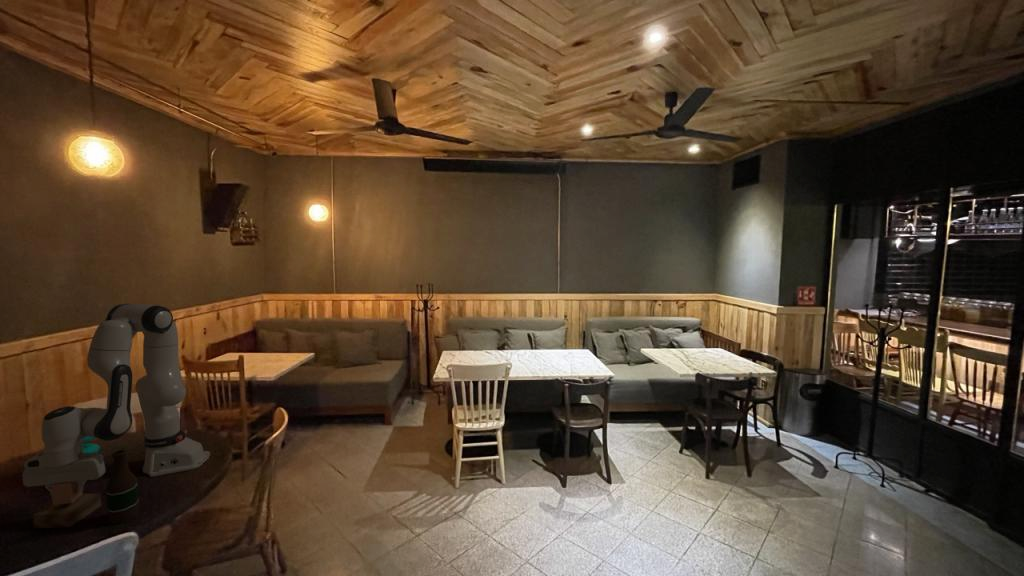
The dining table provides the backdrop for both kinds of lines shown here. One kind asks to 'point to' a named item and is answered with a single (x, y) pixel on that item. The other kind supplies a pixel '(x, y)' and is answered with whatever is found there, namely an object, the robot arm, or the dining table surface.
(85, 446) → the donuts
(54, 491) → the terracotta block
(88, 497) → the walnut block
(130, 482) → the beer bottle
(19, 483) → the dining table surface
